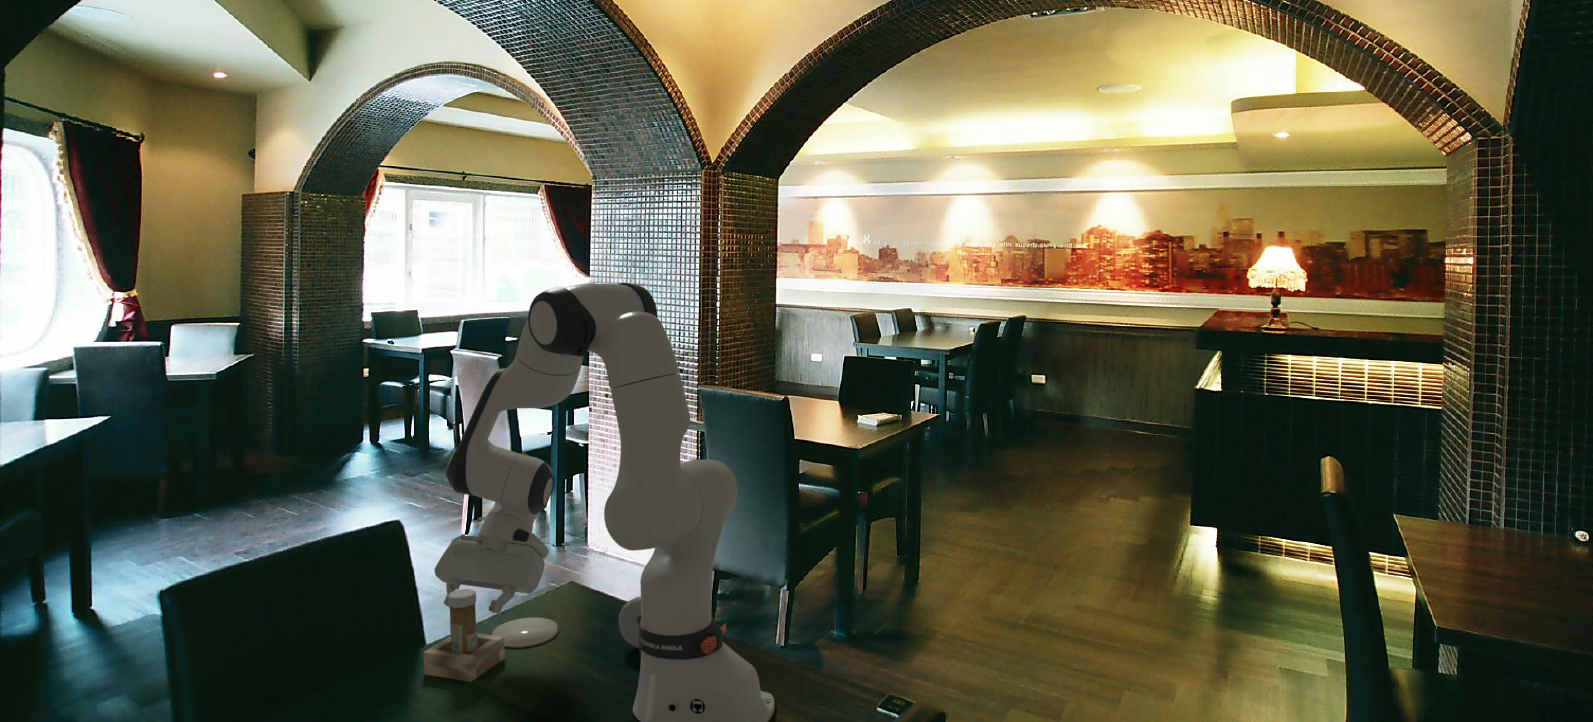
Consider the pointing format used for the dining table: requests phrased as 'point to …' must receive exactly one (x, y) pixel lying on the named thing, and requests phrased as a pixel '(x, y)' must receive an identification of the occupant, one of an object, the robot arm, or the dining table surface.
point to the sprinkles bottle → (463, 621)
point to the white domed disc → (526, 631)
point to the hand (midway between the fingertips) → (471, 608)
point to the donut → (630, 621)
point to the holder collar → (464, 658)
